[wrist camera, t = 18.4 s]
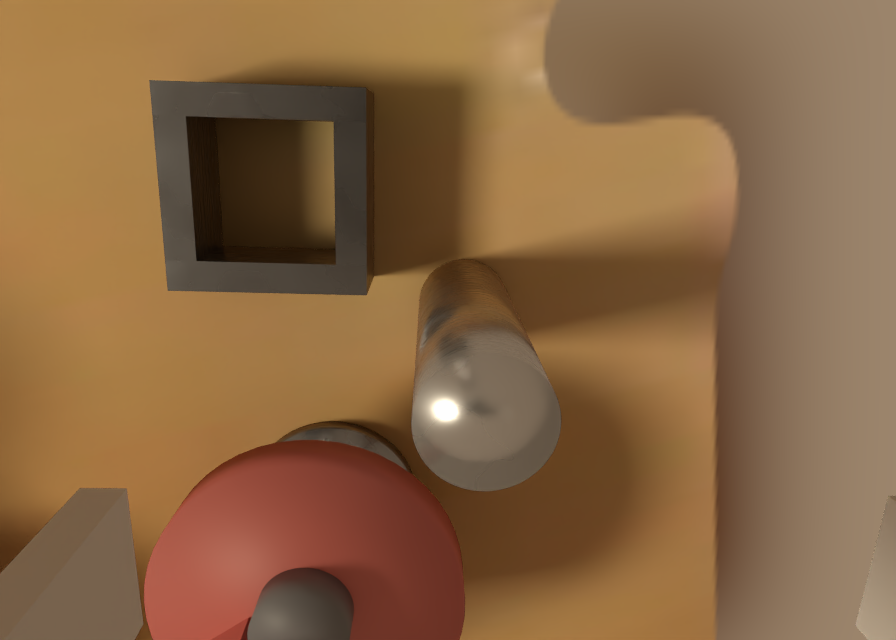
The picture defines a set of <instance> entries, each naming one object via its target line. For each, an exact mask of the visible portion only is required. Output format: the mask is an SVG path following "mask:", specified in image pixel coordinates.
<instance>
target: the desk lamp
mask: <svg viewBox="0 0 896 640" xmlns="http://www.w3.org/2000/svg"><path fill="white" fill-rule="evenodd" d="M144 605H145V612H146V619H147V622H148V626H149V629H150V633H151V636H152V638H153V640H459V639H460V636H461V633H462V627H463V622H464V616H465V593H464V579H463V566H462V558H461V551H460V546H459V543H458V539H457V536H456V532H455V530H454V528H453V526H452V524H451V521H450V519H449V517H448V515H447V514H446V512H445V511H444V509H443V507H442V506H441V504H440V503H439V501H438V500H437V499H436V498H435V497H434V495H433V494H432V493H431V492H430V491H429V490H428V488H427V487H426V486H425V485H423V484H422V483H421V482H420V481H419V480H418V479H417V478H416V477H414V476H413V475H412V474H411V473H409V472H408V471H406V470H405V469H403V468H402V467H400V466H399V465H398V464H396V463H394V462H392V461H390V460H388V459H386V458H385V457H383V456H381V455H379V454H376V453H374V452H371V451H368V450H365V449H363V448H360V447H356V446H352V445H348V444H344V443H340V442H332V441H323V440H293V441H285V442H277V443H273V444H269V445H265V446H261V447H257V448H255V449H252V450H249V451H247V452H244V453H242V454H239V455H237V456H235V457H233V458H232V459H230V460H228V461H226V462H224V463H222V464H221V465H220V466H218V467H217V468H216V469H214V470H213V471H211V472H210V473H209V474H207V475H206V476H205V477H204V478H203V479H202V480H201V481H200V482H199V483H198V484H197V485H196V486H195V487H194V488H193V489H192V490H191V492H190V493H189V494H188V496H187V497H186V498H185V500H184V501H183V502H182V504H181V505H180V507H179V508H178V510H177V511H176V513H175V514H174V516H173V517H172V519H171V520H170V522H169V523H168V525H167V526H166V528H165V529H164V531H163V532H162V534H161V536H160V538H159V540H158V542H157V543H156V545H155V547H154V549H153V552H152V555H151V558H150V560H149V563H148V567H147V572H146V577H145V583H144Z"/></svg>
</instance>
